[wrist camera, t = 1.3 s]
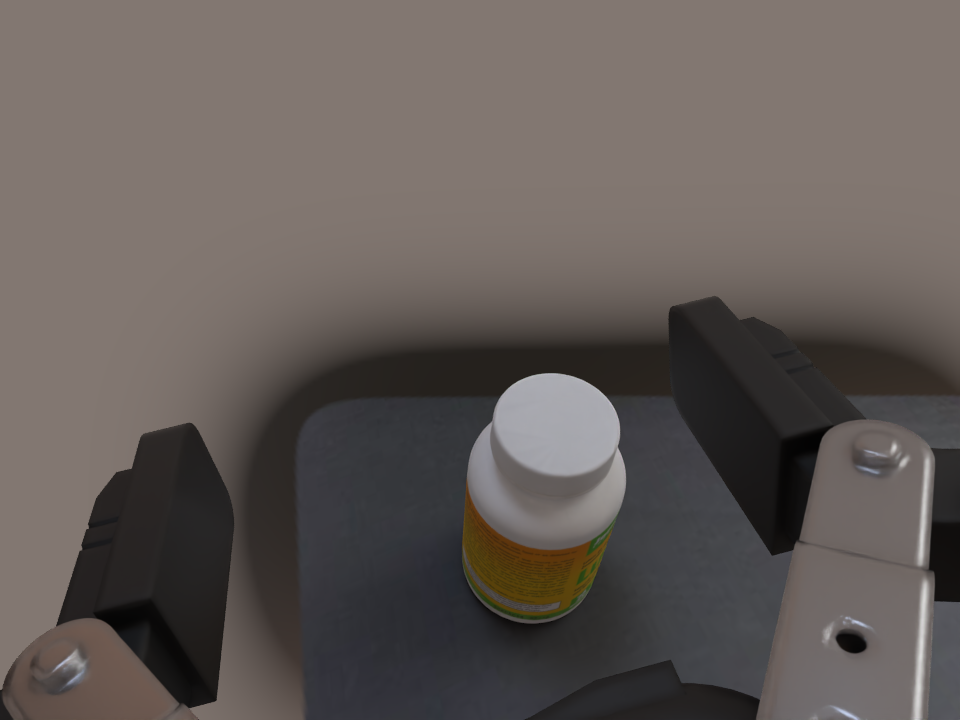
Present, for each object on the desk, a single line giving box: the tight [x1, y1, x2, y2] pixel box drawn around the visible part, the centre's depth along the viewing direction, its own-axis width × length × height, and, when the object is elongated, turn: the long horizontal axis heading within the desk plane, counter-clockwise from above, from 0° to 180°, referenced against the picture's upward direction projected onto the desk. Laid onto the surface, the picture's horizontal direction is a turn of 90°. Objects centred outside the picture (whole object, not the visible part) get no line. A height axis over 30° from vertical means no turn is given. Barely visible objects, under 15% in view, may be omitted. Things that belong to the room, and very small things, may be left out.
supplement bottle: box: [462, 373, 626, 624], centre depth 28 cm, size 5×5×10 cm
